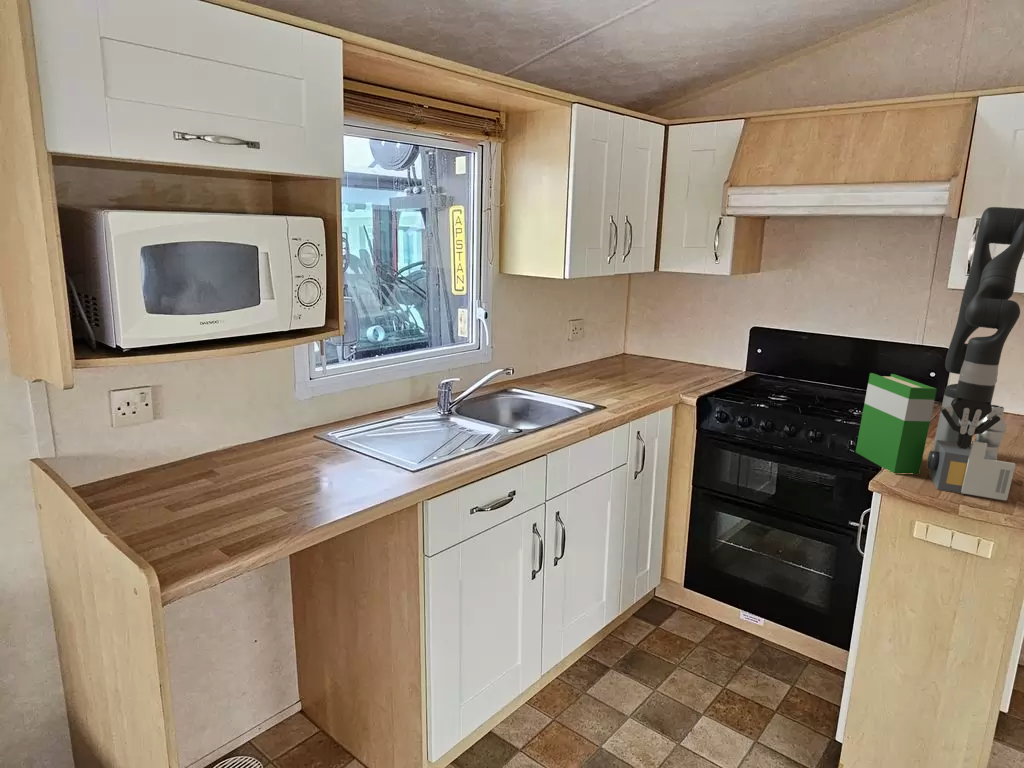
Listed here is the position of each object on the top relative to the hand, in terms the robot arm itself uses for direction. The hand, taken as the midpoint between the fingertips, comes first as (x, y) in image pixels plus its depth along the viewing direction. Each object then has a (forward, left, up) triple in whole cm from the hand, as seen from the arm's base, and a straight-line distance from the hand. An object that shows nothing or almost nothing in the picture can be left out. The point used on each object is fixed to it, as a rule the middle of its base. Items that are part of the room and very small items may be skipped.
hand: (962, 447), depth 171 cm
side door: (0, +7, -12) cm, 13 cm away
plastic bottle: (-19, +10, -12) cm, 25 cm away
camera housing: (-7, +2, -12) cm, 14 cm away
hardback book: (-18, -13, -12) cm, 25 cm away
